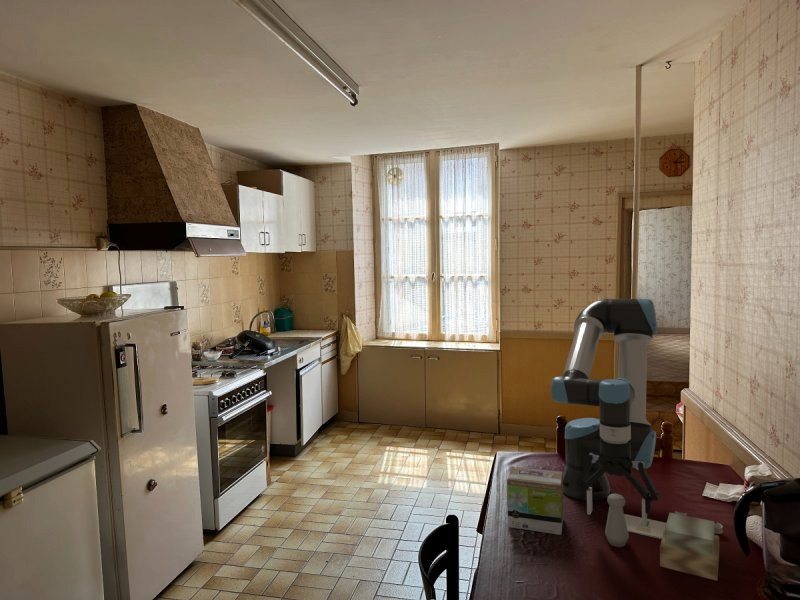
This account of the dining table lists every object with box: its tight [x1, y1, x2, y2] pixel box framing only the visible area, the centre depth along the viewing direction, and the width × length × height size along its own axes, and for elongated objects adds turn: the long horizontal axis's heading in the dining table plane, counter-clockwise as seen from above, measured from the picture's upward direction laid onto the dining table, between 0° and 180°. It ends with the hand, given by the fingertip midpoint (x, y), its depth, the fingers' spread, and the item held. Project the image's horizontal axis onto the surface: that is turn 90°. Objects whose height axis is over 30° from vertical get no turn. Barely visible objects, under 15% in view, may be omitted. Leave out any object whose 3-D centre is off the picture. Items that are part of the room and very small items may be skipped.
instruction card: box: [624, 513, 667, 540], centre depth 145 cm, size 12×9×1 cm
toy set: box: [673, 510, 724, 535], centre depth 143 cm, size 12×3×4 cm, turn 49°
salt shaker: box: [604, 493, 630, 548], centre depth 138 cm, size 6×6×13 cm
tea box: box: [506, 466, 564, 536], centre depth 150 cm, size 15×10×15 cm, turn 70°
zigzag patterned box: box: [659, 512, 720, 581], centre depth 128 cm, size 12×12×9 cm
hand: (616, 518), depth 137 cm, fingers open, 13 cm apart
